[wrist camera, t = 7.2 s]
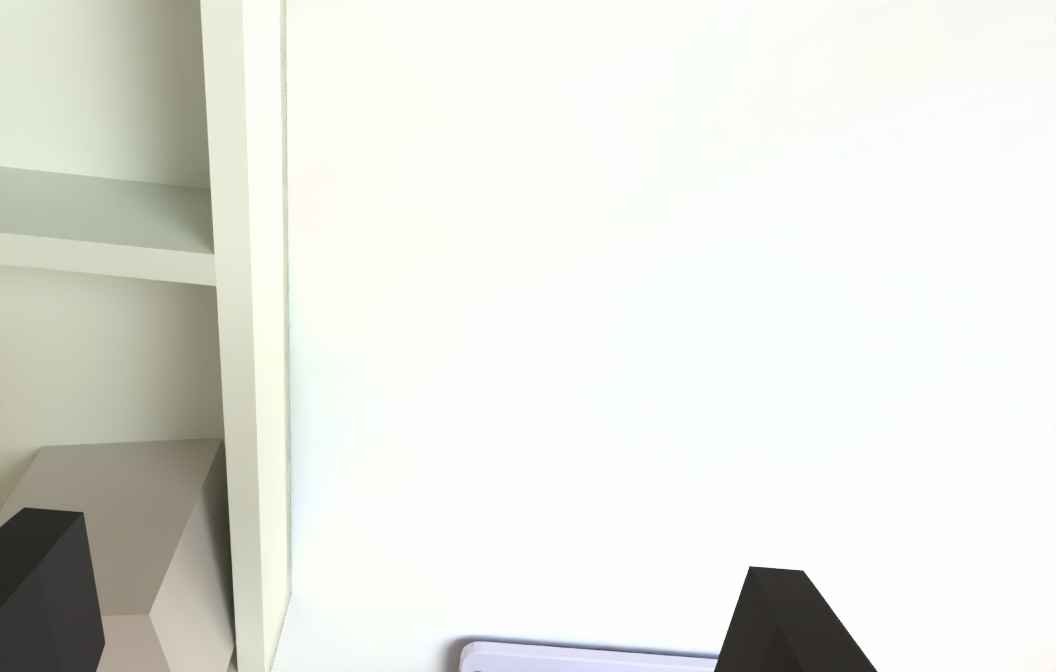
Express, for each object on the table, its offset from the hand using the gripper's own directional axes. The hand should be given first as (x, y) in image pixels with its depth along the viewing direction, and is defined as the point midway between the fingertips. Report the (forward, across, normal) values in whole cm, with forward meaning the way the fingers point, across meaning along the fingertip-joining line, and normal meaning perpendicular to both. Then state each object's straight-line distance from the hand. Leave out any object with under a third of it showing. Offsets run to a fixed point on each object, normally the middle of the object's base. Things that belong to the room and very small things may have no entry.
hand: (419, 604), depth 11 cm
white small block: (+9, +6, +8) cm, 14 cm away
